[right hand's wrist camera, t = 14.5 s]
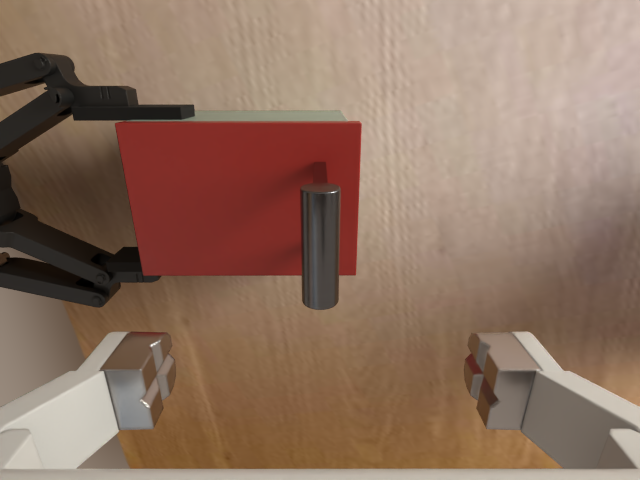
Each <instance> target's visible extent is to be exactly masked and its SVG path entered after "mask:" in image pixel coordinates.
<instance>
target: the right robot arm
mask: <svg viewBox="0 0 640 480" xmlns="http://www.w3.org/2000/svg"><path fill="white" fill-rule="evenodd" d="M171 347H172V341H171V337H170V335H169V334H168V333H167V332H111V333H108V334H107V335H106V336H105V338H104V339H103V340H102V341H101V342H100V343H99V345H98V346H97V347H96V348H95V349H94V351H93V352H92V353H91V354H90V355H89V356H88V358H87V359H86V360H85V361H84V362H83V364H82V365H81V366H80V367H79V368H78V369H77V371H69V372H67V373H65V374H63V375H61V376H59V377H57V378H56V379H54V380H52V381H50V382H48V383H46V384H44V385H42V386H40V387H38V388H36V389H34V390H32V391H30V392H28V393H26V394H25V395H23V396H21V397H19V398H17V399H15V400H13V401H11V402H9V403H7V404H5V405H3V406H1V407H0V480H640V407H639V406H637V405H635V404H633V403H631V402H629V401H627V400H625V399H623V398H621V397H619V396H617V395H615V394H613V393H611V392H610V391H608V390H606V389H604V388H602V387H600V386H598V385H596V384H594V383H592V382H590V381H588V380H586V379H584V378H582V377H581V376H579V375H577V374H575V373H573V372H571V371H563V369H562V368H561V367H560V366H559V365H558V364H557V362H556V361H555V360H554V359H553V358H552V356H551V355H550V354H549V353H548V352H547V351H546V349H545V348H544V347H543V346H542V345H541V344H540V342H539V341H538V340H537V339H536V338H535V336H534V335H533V334H532V333H530V332H528V331H525V332H506V333H471V335H470V337H469V341H468V347H469V349H470V351H471V354H470V355H469V356H468V357H467V358H466V359H465V365H464V377H465V383H466V386H467V389H468V391H469V393H470V395H471V396H472V397H474V398H475V399H476V400H478V403H477V410H478V412H479V414H480V416H481V418H482V421H483V423H484V425H485V427H486V429H504V430H521V432H522V433H523V434H524V435H525V436H527V437H528V438H529V439H530V440H531V441H532V442H534V443H535V444H536V445H537V446H538V447H539V448H541V449H542V450H543V451H544V452H545V453H546V454H548V455H549V456H550V457H551V458H552V459H554V460H555V461H556V462H557V463H558V464H559V465H561V466H562V467H563V468H564V469H76V468H77V467H78V466H80V465H81V464H82V463H83V462H84V461H85V460H87V459H88V458H89V457H90V456H91V455H92V454H94V453H95V452H96V451H97V450H98V449H99V448H101V447H102V446H103V445H104V444H105V443H107V442H108V441H109V440H110V439H111V438H112V437H114V436H115V435H116V434H117V433H118V432H119V430H136V429H154V427H155V425H156V423H157V421H158V419H159V416H160V414H161V412H162V410H163V403H162V400H164V399H165V398H166V397H168V396H169V395H170V393H171V391H172V389H173V387H174V382H175V377H176V364H175V359H174V358H173V357H172V356H171V355H170V354H169V351H170V349H171Z"/></svg>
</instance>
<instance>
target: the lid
mask: <svg viewBox="0 0 640 480" xmlns="http://www.w3.org/2000/svg"><path fill="white" fill-rule="evenodd" d="M115 127H116V132H117V138H118V143H119V148H120V154H121V159H122V164H123V170H124V175H125V180H126V186H127V191H128V196H129V202H130V207H131V212H132V218H133V223H134V228H135V234H136V239H137V245H138V250H139V255H140V261H141V266H142V271H143V275H144V276H201V275H302V301H303V303H304V305H305V306H307V307H309V308H311V309H316V310H324V309H329V308H332V307H334V306H335V305H336V304H337V303H338V300H339V275H356V260H357V233H358V207H359V180H360V154H361V127H362V124H361V122H360V121H123V122H118V123H115Z"/></svg>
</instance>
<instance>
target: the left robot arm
mask: <svg viewBox="0 0 640 480" xmlns="http://www.w3.org/2000/svg"><path fill="white" fill-rule="evenodd" d="M74 69H75V67H74V63H73V61H72V60H71V59H70V58H69V57H67V56H64V55H55V54H45V53H34V54H30V55H27V56H24V57H21V58H17V59H14V60H11V61H8V62H4V63H1V64H0V96H3V95H7V94H10V93H13V92H17V91H20V90H23V89H27V88H30V87H33V86H37V85H40V84H43V83H46V85H47V87H45V88H44V89H45V90H48V91H46V92H45V93H43V94H42V95H40V96H39V97H37V98H36V99H34V100H33V101H31V102H30V103H28V104H27V105H25V106H24V107H22V108H21V109H19V110H18V111H16V112H15V113H13V114H12V115H10V116H9V117H7V118H6V119H4V120H3V121H1V122H0V247H11V248H14V249H16V250H18V251H21V252H23V253H26V254H28V255H30V256H33V257H35V258H37V259H40V260H42V261H44V262H47V263H44V262H39V261H35V260H30V259H25V258H10V256H9V254H8V253H6V252H3V253H0V287H3V288H8V289H13V290H18V291H22V292H27V293H32V294H36V295H41V296H46V297H51V298H55V299H60V300H65V301H69V302H74V303H79V304H84V305H88V306H93V307H102V306H104V305H105V304H106V303H107V302H108V300H109V299H110V298H111V297H112V296H113V295H114V294H115V293H116V292H117V291H118V290H119V289H120V287H121V284H120V282H154V281H157V280H159V278H160V277H161V276H144V275H143V271H142V266H141V261H140V255H139V250H138V247H123V248H122V249H121V250H119V251H118V252H117V253H116V254H115V255H114V254H111V253H109V252H107V251H105V250H102V249H100V248H98V247H96V246H93V245H91V244H89V243H87V242H84V241H82V240H80V239H78V238H75V237H73V236H71V235H69V234H66V233H64V232H62V231H59V230H57V229H55V228H53V227H50V226H48V225H46V224H44V223H41V222H39V221H38V218H37V217H36V216H35V215H33V214H31V213H28V212H26V211H24V210H22V209H20V205H19V201H18V198H17V196H16V195H15V193H14V191H13V189H12V187H11V174H10V171H9V167H8V165H3V163H2V161H4V160H5V159H7V158H9V157H10V156H12V155H13V154H15V153H16V152H18V151H19V150H18V149H19V148H21V147H22V146H24V145H26V144H27V143H29V142H30V141H32V140H33V139H35V138H36V137H38V136H40V135H41V134H43V133H44V132H46V131H47V130H49V129H50V128H52V127H53V126H55V125H57V124H58V123H60V122H61V121H63V120H64V119H66V118H67V117H69V116H71V115H72V114H73V119H74V120H183V119H187V118H190V117H194V116H195V111H194V105H138V100H137V94H136V89H134V88H131V87H129V86H87V85H84V84H83V83H81V82H80V81H79V80H78V78H77V76H76V75H75V73H74ZM48 263H49V264H48Z"/></svg>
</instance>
